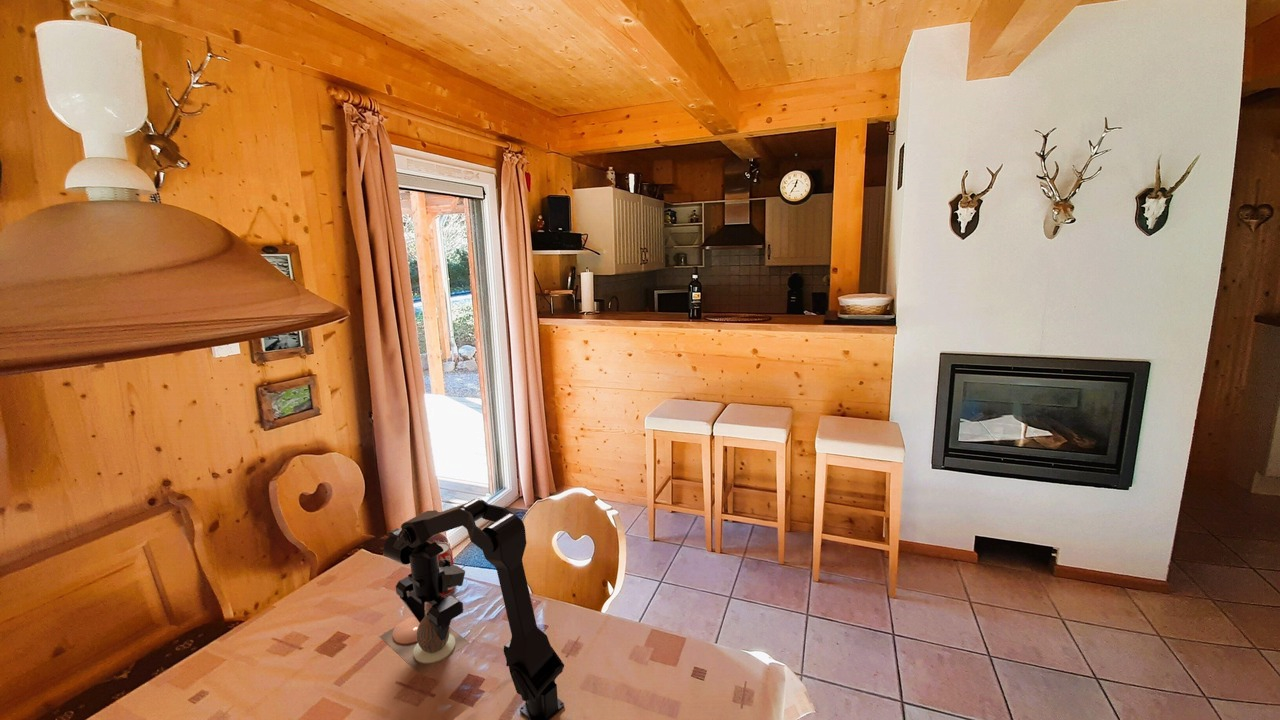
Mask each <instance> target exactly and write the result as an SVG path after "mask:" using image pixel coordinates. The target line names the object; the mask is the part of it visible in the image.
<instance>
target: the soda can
mask: <svg viewBox="0 0 1280 720" xmlns="http://www.w3.org/2000/svg"><path fill="white" fill-rule="evenodd" d="M436 543H437V544H438V545H439V546H441V547H442V548H443V552H441V553H440V554H438V561H439V562H440V560H442V559H447V560H448V561H450V564H453V565H455V564H454V558H453V557H454V556H453V551H452V548H451V547H450V544H449V543H448V542H445V541H444V542H442V541H441V542H436ZM456 587H457V586H454V587H448V591H447V592H445V593H441V594H440V595H441V596H442V597H445V596H449V595H450V594H452V593H453V592H454V591H455V590H456V589H457V588H456Z"/></svg>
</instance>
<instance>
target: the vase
mask: <svg viewBox="0 0 1280 720" xmlns="http://www.w3.org/2000/svg"><path fill="white" fill-rule="evenodd" d="M428 612H429V610H428V611H427V612H426V614H425V616H424V618H423V619H422V621H421V622H420V624H419V626H418V630H417V641H418V644H419V646H420V648H421V649H422V650H423V651H425V652H428V653H434V652H437V651H439V650H441V649H442V648H443V647H444V646H445V645H446V643H447V641H448V638H449V633H450V630H449V629H448V633H447V636H446V638H445V639H444V640H441V639H440V638H439V636H438V635H437V633H436V631H435V630H434V628H433V626H432V625H431V623H430V622H429V620H430V618H429V614H428Z"/></svg>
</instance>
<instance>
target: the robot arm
mask: <svg viewBox="0 0 1280 720" xmlns="http://www.w3.org/2000/svg"><path fill="white" fill-rule="evenodd" d="M480 519H483V520H485V521H491V522H492V523H491V524H488V525H487V526H485V527H484V528H483V529H481V528H480V527H478V526H477V524H476V521H478V520H480ZM459 527H464V528H465V529H466V531H467V534H468V536H469V537H468V538H469V541H470V542H471V543H473V545H475V546H476V547H477V548H479V549H480V550H482V553H483V556H484V559H485V560H486V561H488V562H489V563H490V564H491V565H492V566H494V567H495V569H496V572H497V576H498V578H497V579H498V581H499V582H498V583H499V585H500V586H499V587H500V591H501V596H502V598H503V599H502V600H503V603H504V608H505V611H506V617H507V621H508V625H509V629H510V634H511V639H510V640H509V641H508V642H506V643H505V645H504V646H503V654H504V656H505V661H506V664H505V665H506V667H508V670H509V674H510V677H511V679H512V683H513V686H514V688H515V691H516V693H517V694H518V695H520V696H521V700H522V701H523V702H525V703H523V704H522V705H521V706H520V707H519V712H520V713H521V714H522V715H523V716H525V717H526V718H527V719H528V720H551V719H552V718H553V717H554V716H555V715H556V714H558V713H559V712H560V711H561V710H562V709H564V707H565V703H564V702H563V701H562V700H561V699H560V698H558V697H559V696H558V685H557V683H556V679H557V678H558V676H559V675H560V674H562V673H563V672H564V668H565V663H564V662H563V660H561V658H560V657H559V655H558V654H557V652H556V651H555V650H554V648H553V646H552V645H551V643H550V640H549V637H548V634H546V633H545V632H543V631H542V630H541V629H540V628H539V627H538V626H537V620H536V616H535V612H534V608H533V604H532V603H533V602H532V598H531V593H530V589H529V585H528V580H527V575H526V571H525V567H524V562H523V558H524V554H525V550H526V546H527V533H526V527H525V524H524V521H523V520H522V519H521V518H520V517H519V516H518V515H517V514H514V513H513V512H511V511H510V510H509V509H507V508H506V507H503V506H498V505H494V504H490V503H487V502H486V501H485V500H483V499H482V498H474V499H471V500H470V501H468V502H466V503H462V504H460V505H457V506H454V507H451V508H449V509H446V510H442V511H438V510H437V509H436V510H434V509H433V510H426V511H424V512H422V513H420V514H417V516H415V517H412V518H411V519H408V520H407V521H404V522H403V523H402V524H401V525H400V528H401V529H400V528H395V529H393V530H391V531H389V537H388V538H387V539H386V541H385V542H384V546H383V549H382V551H383V552H382V553H383V555H384V556H385V557H386V558H388V559H390V560H393V561H396V562H398V563H400V564H401V565H409V564H410V573H409V574H408V575H407V576H405V577H404V578H402V579H400V580H398V581H397V584H396V585H395V592H396V595H398V596H399V599H400V600H401V601H402V602H403V603H404V605H405V606H406V607H407V608H408V610H409V612H411V614H412V615H413V617H414V616H415V617H416V619H417V620H418V621H419V623H420V622H421V621H422V619H423V618H424V616H425V610H426V609H425V607H426V603H429V604H430V605H431V606H430V608H429V610H428V611H429V612H428V614H429V618H430V620H429V622H430V623H431V625H432V626H433V628H434V630H435V631H436V633H437V635H438V636H439V638H440V639H441V640H444V639H445V638H446V636H447V633H448V629H449V627H450V625H451V622H452V620H453V619H455V618H456V617H458V616H459V615H462V614H463V613H464V603H463V602H462V601H461V600H460V599H458V598H457V597H455V596H452V595H447V597H444V596H441V595H440V594H441V593H445V592H447V591H448V587H454V586H456V587H462V586H463V584H464V579H465V574H466V570H465V569H463V568H462V567H460V566H458V565H455V564H454V565H453V564H450V561H448V560H447V559H442V560H440V562H439V561H438V554H440V553H441V552H443V548H442V547H441V546H439V545H438V544H437V543H438V542H436V541H434V542H432V541H429V540H430V539H432V538H434V537H436V536H437V535H439V534H442V533H444V532H447V531H451V530H453V529H458V528H459Z"/></svg>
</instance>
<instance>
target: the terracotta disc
mask: <svg viewBox="0 0 1280 720" xmlns="http://www.w3.org/2000/svg"><path fill="white" fill-rule="evenodd" d="M419 624H420V623H419V621H418V620H417V619H416V617H415V616H414V615H413V616H410V617H408V618H406V619H404V620H402V621H401V622H399V623H398V624H397V625H396V626H395V629H394V630H393V639H394V641H395V642H397V643H399V644H411V643H415V642H418V641H417V630H418V626H419Z"/></svg>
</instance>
